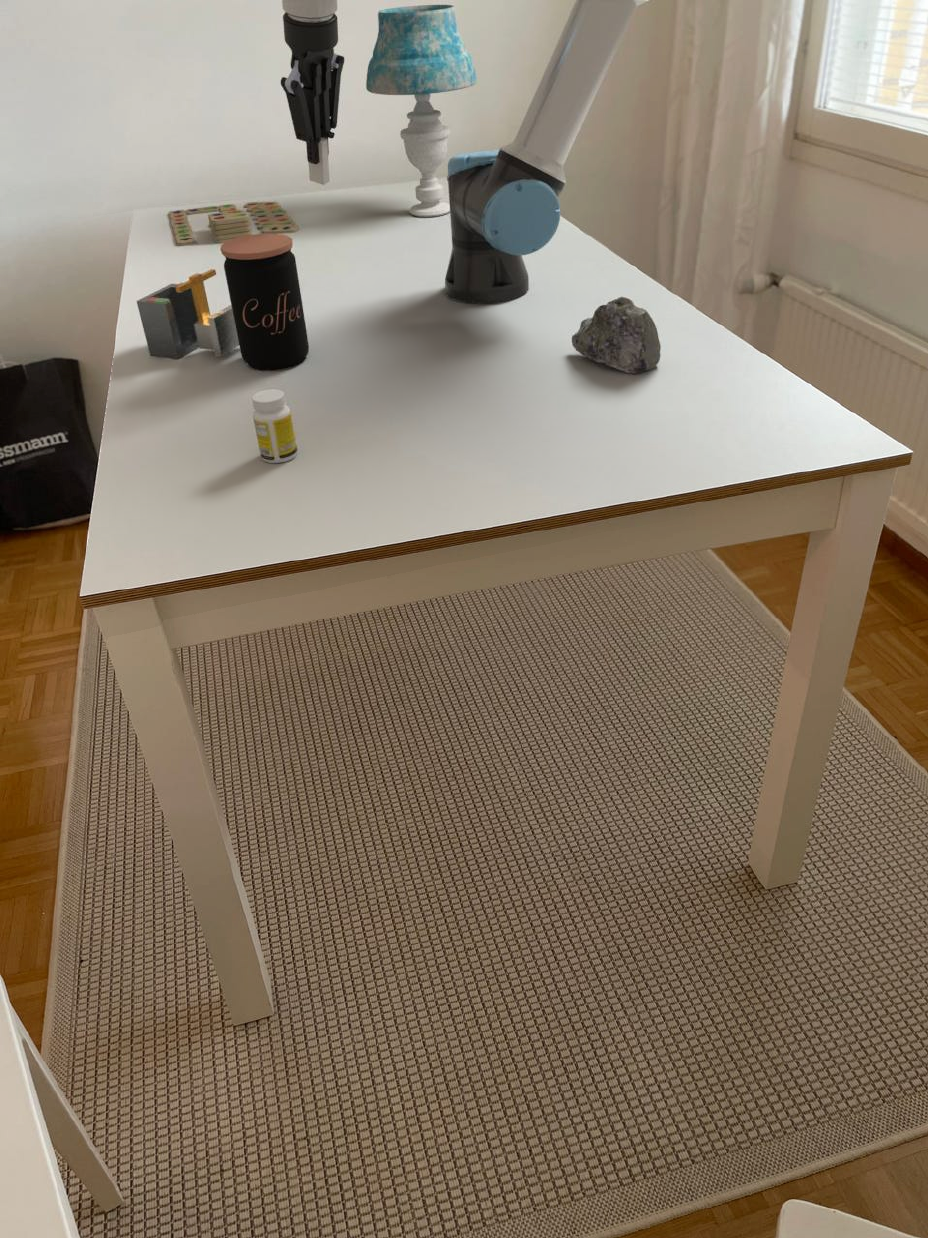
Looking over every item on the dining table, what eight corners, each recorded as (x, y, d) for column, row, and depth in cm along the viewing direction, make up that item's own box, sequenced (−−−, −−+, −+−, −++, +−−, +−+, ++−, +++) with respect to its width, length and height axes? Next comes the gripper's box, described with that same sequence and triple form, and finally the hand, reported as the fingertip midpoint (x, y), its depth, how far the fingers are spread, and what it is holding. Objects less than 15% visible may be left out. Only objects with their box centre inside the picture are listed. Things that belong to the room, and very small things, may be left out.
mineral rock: (568, 351, 152) (568, 286, 146) (633, 341, 154) (636, 276, 148) (597, 382, 142) (599, 313, 136) (666, 371, 143) (671, 302, 137)
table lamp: (369, 207, 233) (347, 9, 209) (464, 194, 238) (454, 0, 214) (393, 231, 214) (373, 17, 191) (496, 216, 219) (489, 6, 196)
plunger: (252, 336, 161) (239, 268, 155) (219, 357, 155) (204, 287, 148) (224, 333, 163) (210, 266, 157) (190, 353, 157) (174, 284, 150)
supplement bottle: (299, 446, 130) (289, 386, 125) (296, 462, 126) (285, 401, 121) (263, 449, 130) (251, 389, 125) (258, 465, 126) (246, 404, 121)
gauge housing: (211, 339, 165) (199, 284, 159) (178, 359, 158) (164, 301, 153) (184, 336, 167) (171, 281, 162) (150, 355, 160) (135, 299, 155)
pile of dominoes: (302, 235, 219) (298, 208, 215) (179, 252, 213) (173, 225, 209) (277, 201, 246) (274, 178, 242) (168, 216, 240) (162, 192, 237)
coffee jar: (246, 376, 151) (222, 257, 140) (240, 353, 159) (217, 238, 149) (315, 366, 153) (296, 247, 142) (305, 343, 161) (287, 229, 151)
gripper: (314, -7, 141) (323, 158, 159) (259, 19, 133) (275, 190, 151) (358, 5, 139) (362, 171, 157) (305, 32, 131) (315, 203, 149)
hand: (319, 180), depth 154 cm, fingers closed
